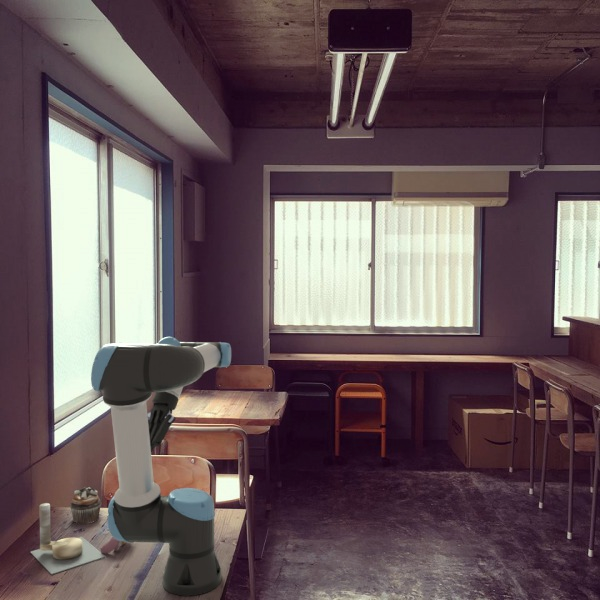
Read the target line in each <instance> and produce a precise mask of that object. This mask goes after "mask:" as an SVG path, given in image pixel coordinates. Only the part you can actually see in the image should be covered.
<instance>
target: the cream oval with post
mask: <svg viewBox="0 0 600 600" xmlns="http://www.w3.org/2000/svg"><path fill="white" fill-rule="evenodd" d="M38 507H39V508H38V509H39V512H38V513H39V549H40V550H50V551H52V554H53V557H54V558H55V559H60V560H65V559H71V558H74V557H77V556H79V555H80V554H81V553H82V540H81V539H79V538H78V537H74V536H73V537H64V538H62V539H58V540H52V539H51V538H52V537H51V504H50V503H48V502H45V503H41V504H40V505H39V506H38Z"/></svg>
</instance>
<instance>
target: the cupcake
mask: <svg viewBox="0 0 600 600" xmlns="http://www.w3.org/2000/svg"><path fill="white" fill-rule="evenodd" d="M73 493H74V495H73V497H72V499H71V503H70V506H69V508H70V512H71V515H72V520H73V523H74V522H76V523H75V524H77V523H88V524H90V523H91V522H92V523H94V522H96V521H98V520H99V518H100V511H101V506H102V501H101V499H100V497H99V495H98V490H96V489H95V488H93V487H92V488H91V487H90V486H89V485H88V486H84V487H82V488H77V489H76V490H74V492H73ZM97 519H98V520H97ZM95 520H96V521H95ZM93 521H94V522H93ZM92 523H91V524H92Z"/></svg>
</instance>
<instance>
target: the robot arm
mask: <svg viewBox="0 0 600 600" xmlns="http://www.w3.org/2000/svg"><path fill="white" fill-rule="evenodd" d="M231 362H232V347H231V344H230V343H229V342H221V341H219V342H217V341H215V342H209V341H207V342H204V341H203V342H201V341H200V342H199V341H195V342H194V341H179V340H178V339H177V338H175V337H173V336H166V337H163V338H161V339H160V340H159V341H158V342H157V343H154V344H153V343H122V342H118V343H107V344H104V345H103V346H101V347H100V348H99V349H98V351H97V353H96V355H95V357H94V360H93V362H92V367H91V372H90V373H91V374H90V381H91V383H90V384H91V386H92V389H93V391H95V392H98V393H102V399H103V403H104V404H105V405H107V406H108V407H110V412H111V422H112V423H111V425H112V432H113V441H114V443H113V444H114V450H115V460H116V469H117V477H118V478H117V480H118V486H119V487H118V489H117V490H115V492H114V496H112V498H111V499H110V501H109V502H108V503H109V504H108V507H107V512H108V513H107V519H106V520H107V528H108V530H109V534H110V535H111V536H112V537H113V538H114V539H116V540H118V541H125V543H130V544H131V543H133V544H134V543H153V544H154V543H158V544H160V543H162V544H168V547H169V549H168V550H169V551H168V553H169V554H168V557H167V561H166V563H165V565H164V570H163V573H162V587H163V588H164V590H166V591H167V592H168V593H170V594H172V595H173V594H174V595H178V596H182V597H183V596H184V597H185V596H186V597H187V596H188V597H190V595H192V596H198V594H199V595H202V593H203V594H206V593H208V592H209V593H210V592H211V591H212V590H214V589H216V588H217V587H218V586H219V585H220V583H221V582H222V568H221V565H220V562H219V559H218V557H217V554H216V551H215V518H216V517H215V515H216V512H215V503H214V499H213V497H212V495H210V494H209V493H208V492H207V491H205V490H202V489H199V488H194V487H183V488H176V489H173V490H171V491H170V493H169V494H168V495H162V494H161V493H162V491H161V487H160V485H159V484H158V483H156V482H154V471H153V463H152V462H153V461H152V460H153V459H152V453H153V450H154V449H155V448H157V447H158V448H159V447H160V446H161V444H162V442H163V441H164V439H165V437H166V435H167V433H168V431H169V429H170V428H171V426H172V424H173V423H174V422H175V421H176V417H175V416H174V415H173V411H174V410H176V408H177V405H178V403H179V400H180V399H179V398H180V397H181V394H182V391H183V388H184V387H186V386H189V385H191V384H193V383H194V382H197V381H199V379H200V378H201V377H202V376H203V375H204V373H206V372H207V371H209V370H211V369H213V368H219V369H221V368H228V367H229V366H230V365H231V364H232V363H231ZM152 393H154V396H153V394H152ZM152 396H153V398H152ZM151 398H152V400H151V401H152V404H153V405H152V408H151V409H150V410H149V411H150V412H148V407H147V402H148V401H149V399H151Z"/></svg>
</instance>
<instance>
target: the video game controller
mask: <svg viewBox="0 0 600 600" xmlns="http://www.w3.org/2000/svg"><path fill="white" fill-rule="evenodd" d="M125 544H126V542H125V541H118V540H116V539H114V538H113V536H112V537H111V538H110V539H109V540H108V542H106V543H105V544H103V546H102V547H101V548H100V552H101V553H102V554H103V555H106V554H109V553H111V552H112V551H114V552H116V551H118V550H119V549H120V547H122V546H123V545H125Z"/></svg>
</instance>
